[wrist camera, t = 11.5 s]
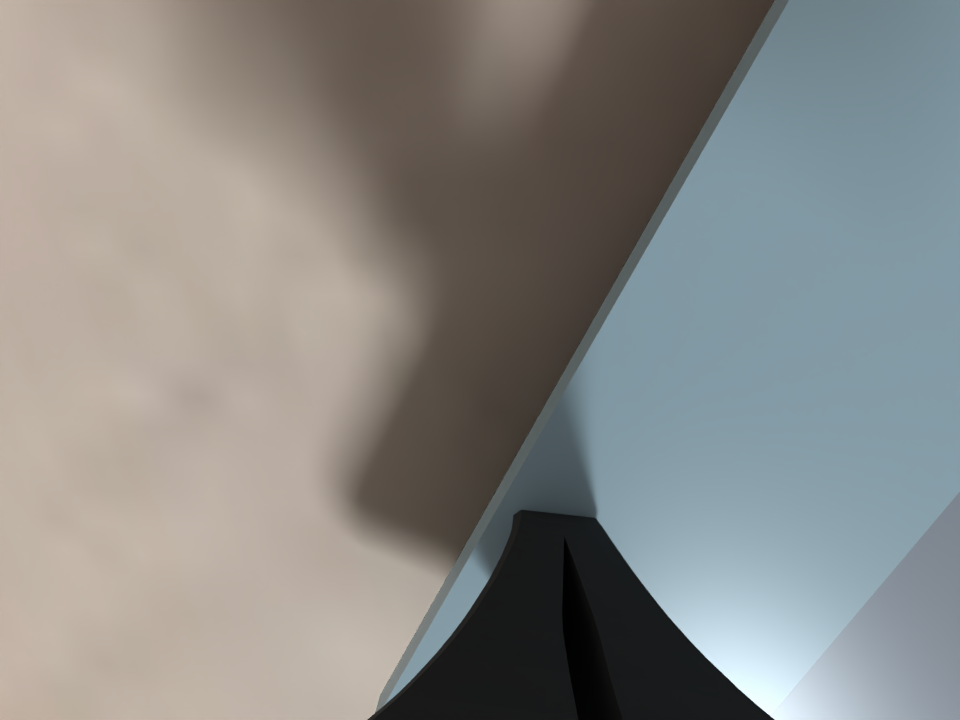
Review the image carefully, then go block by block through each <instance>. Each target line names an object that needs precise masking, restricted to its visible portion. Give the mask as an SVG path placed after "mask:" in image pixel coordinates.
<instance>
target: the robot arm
mask: <svg viewBox="0 0 960 720" xmlns="http://www.w3.org/2000/svg"><path fill="white" fill-rule="evenodd" d="M368 720H775V719H773V718H772V717H771V716H770V715H768V714H767V713H766V712H765V711H764V710H762V709H761V708H760V707H759V706H758V705H756V704H755V703H754V702H753V701H752V700H751V699H750V698H748V697H747V696H746V695H745V694H744V693H743V692H742V691H741V690H739V689H738V688H737V687H736V686H735V685H734V684H733V683H732V682H731V681H730V680H729V679H728V678H727V677H726V676H725V675H724V674H723V673H722V672H721V671H720V670H719V669H717V668H716V667H715V666H714V665H713V664H712V663H711V662H710V661H709V660H708V659H707V658H706V657H705V656H704V655H703V654H702V653H701V652H700V651H699V650H698V649H697V648H696V647H695V646H694V645H693V643H692V642H691V641H690V640H689V639H688V638H687V637H686V636H685V635H684V633H683V632H682V631H681V630H680V629H679V628H678V627H677V626H676V624H675V623H674V622H673V621H672V620H671V619H670V618H669V617H668V615H667V614H666V613H665V612H664V610H663V609H662V608H661V607H660V606H659V604H658V603H657V602H656V600H655V599H654V598H653V597H652V595H651V594H650V593H649V591H648V590H647V589H646V588H645V586H644V585H643V584H642V582H641V581H640V580H639V578H638V577H637V576H636V574H635V573H634V572H633V570H632V569H631V567H630V566H629V565H628V563H627V562H626V560H625V559H624V558H623V556H622V555H621V553H620V552H619V550H618V549H617V547H616V546H615V545H614V543H613V542H612V540H611V539H610V537H609V536H608V534H607V533H606V531H605V530H604V528H603V527H602V525H601V524H600V523H599V521H598V520H597V519H596V518H592V517H583V516H574V515H565V514H556V513H547V512H538V511H530V510H520V511H518V512H517V513H515V514H514V515H513V522H512V529H511V533H510V536H509V539H508V541H507V544H506V546H505V548H504V551H503V553H502V555H501V557H500V559H499V561H498V563H497V565H496V567H495V569H494V571H493V572H492V574H491V576H490V578H489V580H488V582H487V583H486V585H485V587H484V588H483V590H482V591H481V593H480V594H479V596H478V598H477V599H476V601H475V602H474V604H473V605H472V607H471V608H470V610H469V611H468V613H467V614H466V616H465V617H464V619H463V620H462V621H461V623H460V624H459V625H458V627H457V628H456V629H455V631H454V632H453V633H452V635H451V636H450V637H449V638H448V640H447V641H446V642H445V643H444V644H443V646H442V647H441V648H440V649H439V650H438V652H437V653H436V654H435V655H434V656H433V657H432V658H431V659H430V660H429V662H428V663H427V664H426V665H425V666H424V667H423V668H422V669H421V670H420V671H419V672H418V673H417V675H416V676H415V677H414V678H413V679H412V680H411V681H410V682H409V683H408V684H407V685H406V686H405V687H404V688H403V689H402V690H401V691H400V692H399V693H398V694H397V695H395V696H394V697H393V698H392V699H391V700H390V701H389V702H387V703H386V704H385V705H384V706H383V707H382V708H381V709H379V710H378V711H377V712H376V713H375V714H374V715H372V716H371V717H370V718H369V719H368Z"/></svg>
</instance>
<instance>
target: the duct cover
mask: <svg viewBox="0 0 960 720" xmlns="http://www.w3.org/2000/svg"><path fill="white" fill-rule="evenodd" d="M959 492H960V0H775V1H774V2H773V4H772V6H771V8H770V9H769V11H768V13H767V15H766V16H765V18H764V20H763V22H762V24H761V25H760V27H759V29H758V31H757V32H756V34H755V36H754V38H753V39H752V41H751V43H750V45H749V46H748V48H747V50H746V52H745V53H744V55H743V57H742V59H741V61H740V62H739V64H738V66H737V68H736V69H735V71H734V73H733V75H732V76H731V78H730V80H729V82H728V83H727V85H726V87H725V89H724V90H723V92H722V94H721V96H720V98H719V99H718V101H717V103H716V105H715V106H714V108H713V110H712V112H711V113H710V115H709V117H708V119H707V120H706V122H705V124H704V126H703V127H702V129H701V131H700V133H699V135H698V136H697V138H696V140H695V142H694V143H693V145H692V147H691V149H690V150H689V152H688V154H687V156H686V157H685V159H684V161H683V163H682V164H681V166H680V168H679V170H678V172H677V173H676V175H675V177H674V179H673V180H672V182H671V184H670V186H669V187H668V189H667V191H666V193H665V194H664V196H663V198H662V200H661V201H660V203H659V205H658V207H657V208H656V210H655V212H654V214H653V216H652V217H651V219H650V221H649V223H648V224H647V226H646V228H645V230H644V231H643V233H642V235H641V237H640V238H639V240H638V242H637V244H636V245H635V247H634V249H633V251H632V253H631V254H630V256H629V258H628V260H627V261H626V263H625V265H624V267H623V268H622V270H621V272H620V274H619V275H618V277H617V279H616V281H615V282H614V284H613V286H612V288H611V290H610V291H609V293H608V295H607V297H606V298H605V300H604V302H603V304H602V305H601V307H600V309H599V311H598V312H597V314H596V316H595V318H594V319H593V321H592V323H591V325H590V327H589V328H588V330H587V332H586V334H585V335H584V337H583V339H582V341H581V342H580V344H579V346H578V348H577V349H576V351H575V353H574V355H573V356H572V358H571V360H570V362H569V364H568V365H567V367H566V369H565V371H564V372H563V374H562V376H561V378H560V379H559V381H558V383H557V385H556V386H555V388H554V390H553V392H552V393H551V395H550V397H549V399H548V401H547V402H546V404H545V406H544V408H543V409H542V411H541V413H540V415H539V416H538V418H537V420H536V422H535V423H534V425H533V427H532V429H531V430H530V432H529V434H528V436H527V438H526V439H525V441H524V443H523V445H522V446H521V448H520V450H519V452H518V453H517V455H516V457H515V459H514V460H513V462H512V464H511V466H510V467H509V469H508V471H507V473H506V474H505V476H504V478H503V480H502V482H501V483H500V485H499V487H498V489H497V490H496V492H495V494H494V496H493V497H492V499H491V501H490V503H489V504H488V506H487V508H486V510H485V511H484V513H483V515H482V517H481V519H480V520H479V522H478V524H477V526H476V527H475V529H474V531H473V533H472V534H471V536H470V538H469V540H468V541H467V543H466V545H465V547H464V548H463V550H462V552H461V554H460V556H459V557H458V559H457V561H456V563H455V564H454V566H453V568H452V570H451V571H450V573H449V575H448V577H447V578H446V580H445V582H444V584H443V585H442V587H441V589H440V591H439V593H438V594H437V596H436V598H435V600H434V601H433V603H432V605H431V607H430V608H429V610H428V612H427V614H426V615H425V617H424V619H423V621H422V622H421V624H420V626H419V628H418V630H417V631H416V633H415V635H414V637H413V638H412V640H411V642H410V644H409V645H408V647H407V649H406V651H405V652H404V654H403V656H402V658H401V659H400V661H399V663H398V665H397V667H396V668H395V670H394V672H393V674H392V675H391V677H390V679H389V681H388V682H387V684H386V686H385V688H384V689H383V691H382V693H381V695H380V698H379V702H378V705H377V709H376V712H377V711H378V710H379V709H381V708H382V707H383V706H384V705H385V704H386V703H387V702H389V701H390V700H391V699H392V698H393V697H394V696H395V695H397V694H398V693H399V692H400V691H401V690H402V689H403V688H404V687H405V686H406V685H407V684H408V683H409V682H410V681H411V680H412V679H413V678H414V677H415V676H416V675H417V673H418V672H419V671H420V670H421V669H422V668H423V667H424V666H425V665H426V664H427V663H428V662H429V660H430V659H431V658H432V657H433V656H434V655H435V654H436V653H437V652H438V650H439V649H440V648H441V647H442V646H443V644H444V643H445V642H446V641H447V640H448V638H449V637H450V636H451V635H452V633H453V632H454V631H455V629H456V628H457V627H458V625H459V624H460V623H461V621H462V620H463V619H464V617H465V616H466V614H467V613H468V611H469V610H470V608H471V607H472V605H473V604H474V602H475V601H476V599H477V598H478V596H479V594H480V593H481V591H482V590H483V588H484V587H485V585H486V583H487V582H488V580H489V578H490V576H491V574H492V572H493V571H494V569H495V567H496V565H497V563H498V561H499V559H500V557H501V555H502V553H503V551H504V548H505V546H506V544H507V541H508V539H509V536H510V533H511V529H512V522H513V515H514V514H515V513H517V512H518V511H520V510H530V511H538V512H547V513H556V514H565V515H574V516H583V517H592V518H596V519H597V520H598V521H599V523H600V524H601V525H602V527H603V528H604V530H605V531H606V533H607V534H608V536H609V537H610V539H611V540H612V542H613V543H614V545H615V546H616V547H617V549H618V550H619V552H620V553H621V555H622V556H623V558H624V559H625V560H626V562H627V563H628V565H629V566H630V567H631V569H632V570H633V572H634V573H635V574H636V576H637V577H638V578H639V580H640V581H641V582H642V584H643V585H644V586H645V588H646V589H647V590H648V591H649V593H650V594H651V595H652V597H653V598H654V599H655V600H656V602H657V603H658V604H659V606H660V607H661V608H662V609H663V610H664V612H665V613H666V614H667V615H668V617H669V618H670V619H671V620H672V621H673V622H674V623H675V624H676V626H677V627H678V628H679V629H680V630H681V631H682V632H683V633H684V635H685V636H686V637H687V638H688V639H689V640H690V641H691V642H692V643H693V645H694V646H695V647H696V648H697V649H698V650H699V651H700V652H701V653H702V654H703V655H704V656H705V657H706V658H707V659H708V660H709V661H710V662H711V663H712V664H713V665H714V666H715V667H716V668H717V669H719V670H720V671H721V672H722V673H723V674H724V675H725V676H726V677H727V678H728V679H729V680H730V681H731V682H732V683H733V684H734V685H735V686H736V687H737V688H738V689H739V690H741V691H742V692H743V693H744V694H745V695H746V696H747V697H748V698H750V699H751V700H752V701H753V702H754V703H755V704H756V705H758V706H759V707H760V708H761V709H762V710H764V711H765V712H766V713H767V714H768V715H770V716H771V715H772V713H773V712H774V711H775V710H776V709H777V707H778V706H779V705H780V704H781V703H782V701H783V700H784V699H785V698H786V697H787V696H788V694H789V693H790V692H791V691H792V690H793V688H794V687H795V686H796V685H797V684H798V683H799V681H800V680H801V679H802V678H803V677H804V675H805V674H806V673H807V672H808V671H809V670H810V668H811V667H812V666H813V665H814V664H815V662H816V661H817V660H818V659H819V658H820V656H821V655H822V654H823V653H824V652H825V651H826V649H827V648H828V647H829V646H830V645H831V643H832V642H833V641H834V640H835V639H836V638H837V636H838V635H839V634H840V633H841V632H842V630H843V629H844V628H845V627H846V626H847V624H848V623H849V622H850V621H851V620H852V619H853V617H854V616H855V615H856V614H857V613H858V611H859V610H860V609H861V608H862V607H863V606H864V604H865V603H866V602H867V601H868V600H869V598H870V597H871V596H872V595H873V594H874V592H875V591H876V590H877V589H878V588H879V587H880V585H881V584H882V583H883V582H884V581H885V579H886V578H887V577H888V576H889V575H890V574H891V572H892V571H893V570H894V569H895V568H896V566H897V565H898V564H899V563H900V562H901V561H902V559H903V558H904V557H905V556H906V555H907V553H908V552H909V551H910V550H911V549H912V547H913V546H914V545H915V544H916V543H917V542H918V540H919V539H920V538H921V537H922V536H923V534H924V533H925V532H926V531H927V530H928V529H929V527H930V526H931V525H932V524H933V523H934V521H935V520H936V519H937V518H938V517H939V515H940V514H941V513H942V512H943V511H944V510H945V508H946V507H947V506H948V505H949V504H950V502H951V501H952V500H953V499H954V498H955V497H956V495H957V494H958V493H959ZM376 712H375V713H376Z"/></svg>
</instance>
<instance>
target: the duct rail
mask: <svg viewBox="0 0 960 720" xmlns="http://www.w3.org/2000/svg"><path fill="white" fill-rule="evenodd" d="M771 717H772V718H773V719H775V720H960V492H959V493H958V494H957V495H956V497H955V498H954V499H953V500H952V501H951V502H950V504H949V505H948V506H947V507H946V508H945V510H944V511H943V512H942V513H941V514H940V515H939V517H938V518H937V519H936V520H935V521H934V523H933V524H932V525H931V526H930V527H929V529H928V530H927V531H926V532H925V533H924V534H923V536H922V537H921V538H920V539H919V540H918V542H917V543H916V544H915V545H914V546H913V547H912V549H911V550H910V551H909V552H908V553H907V555H906V556H905V557H904V558H903V559H902V561H901V562H900V563H899V564H898V565H897V566H896V568H895V569H894V570H893V571H892V572H891V574H890V575H889V576H888V577H887V578H886V579H885V581H884V582H883V583H882V584H881V585H880V587H879V588H878V589H877V590H876V591H875V592H874V594H873V595H872V596H871V597H870V598H869V600H868V601H867V602H866V603H865V604H864V606H863V607H862V608H861V609H860V610H859V611H858V613H857V614H856V615H855V616H854V617H853V619H852V620H851V621H850V622H849V623H848V624H847V626H846V627H845V628H844V629H843V630H842V632H841V633H840V634H839V635H838V636H837V638H836V639H835V640H834V641H833V642H832V643H831V645H830V646H829V647H828V648H827V649H826V651H825V652H824V653H823V654H822V655H821V656H820V658H819V659H818V660H817V661H816V662H815V664H814V665H813V666H812V667H811V668H810V670H809V671H808V672H807V673H806V674H805V675H804V677H803V678H802V679H801V680H800V681H799V683H798V684H797V685H796V686H795V687H794V688H793V690H792V691H791V692H790V693H789V694H788V696H787V697H786V698H785V699H784V700H783V701H782V703H781V704H780V705H779V706H778V707H777V709H776V710H775V711H774V712H773V713H772V715H771Z"/></svg>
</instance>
